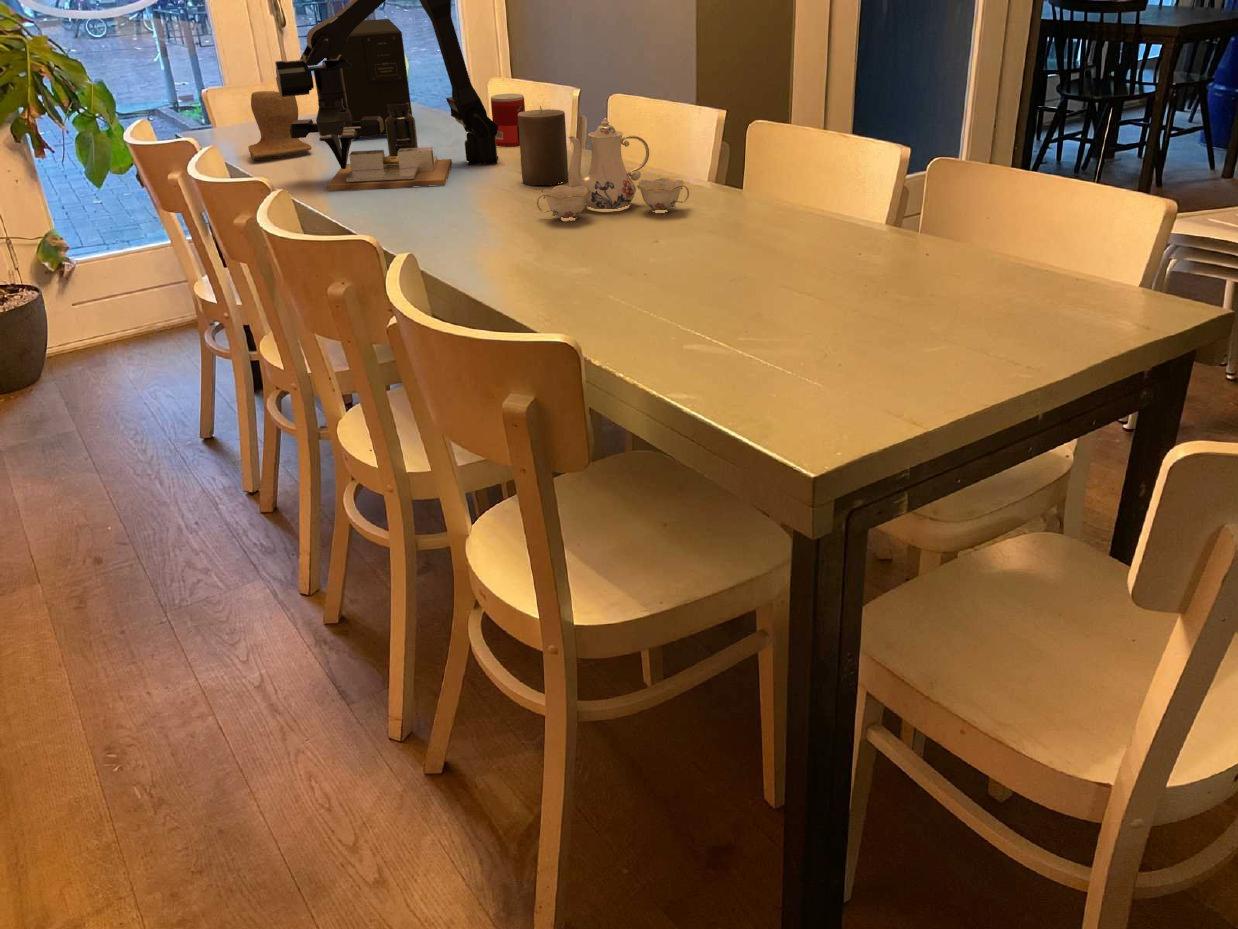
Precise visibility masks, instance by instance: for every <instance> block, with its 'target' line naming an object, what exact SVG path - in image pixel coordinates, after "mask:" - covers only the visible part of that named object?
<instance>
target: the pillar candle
mask: <svg viewBox="0 0 1238 929" xmlns="http://www.w3.org/2000/svg"><path fill="white" fill-rule="evenodd" d="M518 124H519V140H520V146H519V151H520V153H519V154H520V166H521V180H522V183H523V184H525V185H530V186H534V185H549V186H556V185H555V184H558V183H561V182H565V183H567V182H569V181H568V172H569V165H568V163H569V162H568V147H567V129H566V113H565V111H564V110H561V109H556V108H555V109H551V108H550V109H549V108H548V109H542V106H539V109H533V110H525V111H524V112H519V113H518ZM558 185H559V184H558Z"/></svg>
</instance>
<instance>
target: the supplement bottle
mask: <svg viewBox="0 0 1238 929" xmlns="http://www.w3.org/2000/svg"><path fill="white" fill-rule="evenodd" d="M387 105H388V112H389V115H388V116H387V117H386V119H385V126H386V134H387V135H386V141H387V148H388V150H387V151H388V157H390V156H398V150H399V149H403V148H419V146H418V136H417V128H416V120H415V117H414V116H413V114H412V115H411V114H409V111H410V109H409V103H408V102H391V103H388V104H387Z"/></svg>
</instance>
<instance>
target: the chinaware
mask: <svg viewBox="0 0 1238 929" xmlns="http://www.w3.org/2000/svg"><path fill="white" fill-rule="evenodd" d="M600 123H601V124H600V125H598V127H596V130H594V131H593V132H589V133H588V134H587V136H588V137H589V141H590V147H591V159H590V160H591V162H590V168H589V172H588V174H587V175H585V176H583V175H582V172H581V170H582V168H581V166H582V144H581V142H580V140H579V139H578V138H577V137H576V136H568V137H567V138H568V140H569V141H570V142H571V143H572V145H573V146H572V147H573V151H572V154H571V160H570V164H569V166H568V181H567V182H568V185H563V184H560V185H559V184H558V185H555V186H554V187H553V188H552V189H547V188H546V189H543V190H542V194H541V195H540V196H538V198H537V200H536V206H537V208H538V210H539V211H540V212H543V213H548V212H549V213H550V212H552V213H551V217H552V216H555V215H556V216H557V217H559V218H561V217H563V218H569V217H574V216H575V217H576V216H579V215H580V214H581V213H582V211H583V210H584V207H587V206H588V207H591V208H594V209H618V208H622V207H625V206H628V205H629V204H630V203H631V202H632V201H633V199H634V198H635V194H636V193H637V192H636V191H637V189H638V190H639V191H640V195H641V196H642V200H643V202H644V203H645V204H646V205H647V206H648V207H649V208H650V209H652V210H666V209H667V210H669V209H671V208H673V207H675V206H677V205H676V203H681V204H683V203H685V202H687V200H688V199H689V197H690V191H689V188H688V187H687V186H686V185H684V184H685V183H684V181H683V180H682V179H681V180H680V179H678V180H674V181H673V180H672V179H670V178H668V177H659V178H658V177H657V178H656V179H654V180H648V179H642V180H640V181H639V182H638V184H637V185H635V181H638V180H639V179H640V177H641V175H642V174H641V172H640V171H639V170H641V169H643V168H644V167H645V166H646V164H647V163H648V160H649V158H650V148H649V145H648V143H647V142H646V141H645V139H643V138H642V137H640V136H638V135H626V136H624V137H623V135H624V132H623V131H619V130H618V131H617V130H616V129H615V127H614V126H613V125H612V124H611V125H610V122H609V120H608V118H606V117H604V118H603V119H602V121H601V122H600ZM627 139H630V140H631V139H633V140H638V142H641V143H642V144H643V147H644V148H645V157H644V159H643V161H642V163H641V164H639V165H638V166H637V167H635V168H632V169H630V170H628V171H627V169H626V167H625V163H624V161H623V157H622V146H624V147H629V146H630V142H629V140H627ZM633 181H634V182H633ZM683 188H685V189H686V191H687V194H686V197H685V198H684V200H681V201H680V200H678V199H679V198H680V194H681V191H682V190H683ZM542 197H543V199H544V200H546V202H547V205H548V208H549V209H548V210H544V209H542V208H541V207H540V204H539V201H540V199H541V198H542ZM585 205H586V206H585ZM630 205H631V204H630ZM675 208H676V207H675ZM556 216H555V217H556Z"/></svg>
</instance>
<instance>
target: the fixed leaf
mask: <svg viewBox="0 0 1238 929" xmlns="http://www.w3.org/2000/svg"><path fill="white" fill-rule="evenodd" d="M433 150H434V149H433V146H427V147H424V146H423V147H418V148H403V149H399V150H398V160H399V164H386V169H403V168H418V172H433V171H434V168H435V166H436V164H437V161H438V160H439V159H438V156H437V155H434V151H433Z"/></svg>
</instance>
